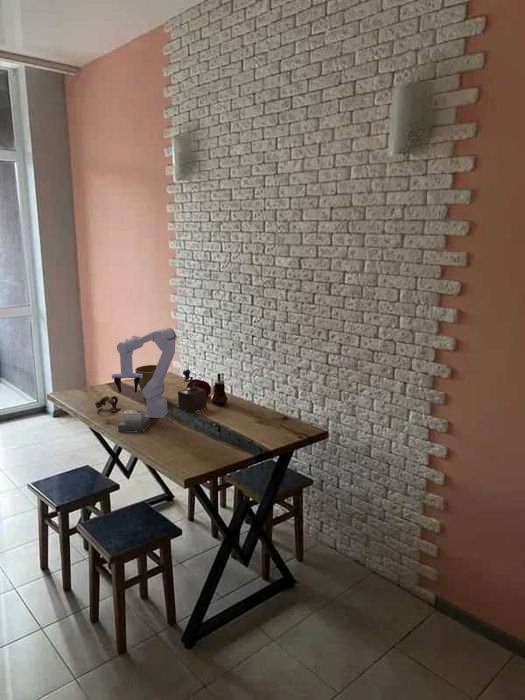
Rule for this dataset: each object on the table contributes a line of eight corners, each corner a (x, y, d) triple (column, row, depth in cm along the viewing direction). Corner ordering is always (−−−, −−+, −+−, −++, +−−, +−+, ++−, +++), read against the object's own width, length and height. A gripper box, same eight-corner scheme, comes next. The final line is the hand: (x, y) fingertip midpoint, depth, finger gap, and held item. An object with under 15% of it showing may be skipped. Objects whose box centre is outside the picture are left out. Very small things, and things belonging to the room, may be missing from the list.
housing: (123, 422, 243) (123, 412, 242) (127, 419, 247) (126, 409, 246) (141, 423, 242) (140, 413, 241) (143, 420, 246) (143, 410, 245)
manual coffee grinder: (208, 407, 272) (207, 373, 268) (191, 413, 264) (190, 377, 260) (188, 401, 282) (187, 368, 278) (171, 406, 274) (170, 372, 270)
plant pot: (135, 394, 294) (134, 366, 291) (163, 392, 299) (161, 364, 295) (137, 402, 280) (136, 372, 277) (166, 399, 285) (165, 370, 281)
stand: (150, 423, 250) (149, 417, 249) (142, 432, 239) (141, 426, 239) (127, 422, 251) (126, 416, 250) (118, 431, 240) (118, 425, 240)
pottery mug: (110, 415, 262) (100, 401, 261) (99, 420, 268) (89, 406, 267) (125, 403, 272) (116, 389, 270) (115, 407, 278) (106, 394, 276)
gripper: (109, 367, 259) (111, 394, 262) (140, 367, 260) (141, 394, 263) (113, 364, 266) (114, 390, 269) (142, 363, 267) (143, 390, 270)
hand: (128, 392), depth 266 cm, fingers open, 7 cm apart
